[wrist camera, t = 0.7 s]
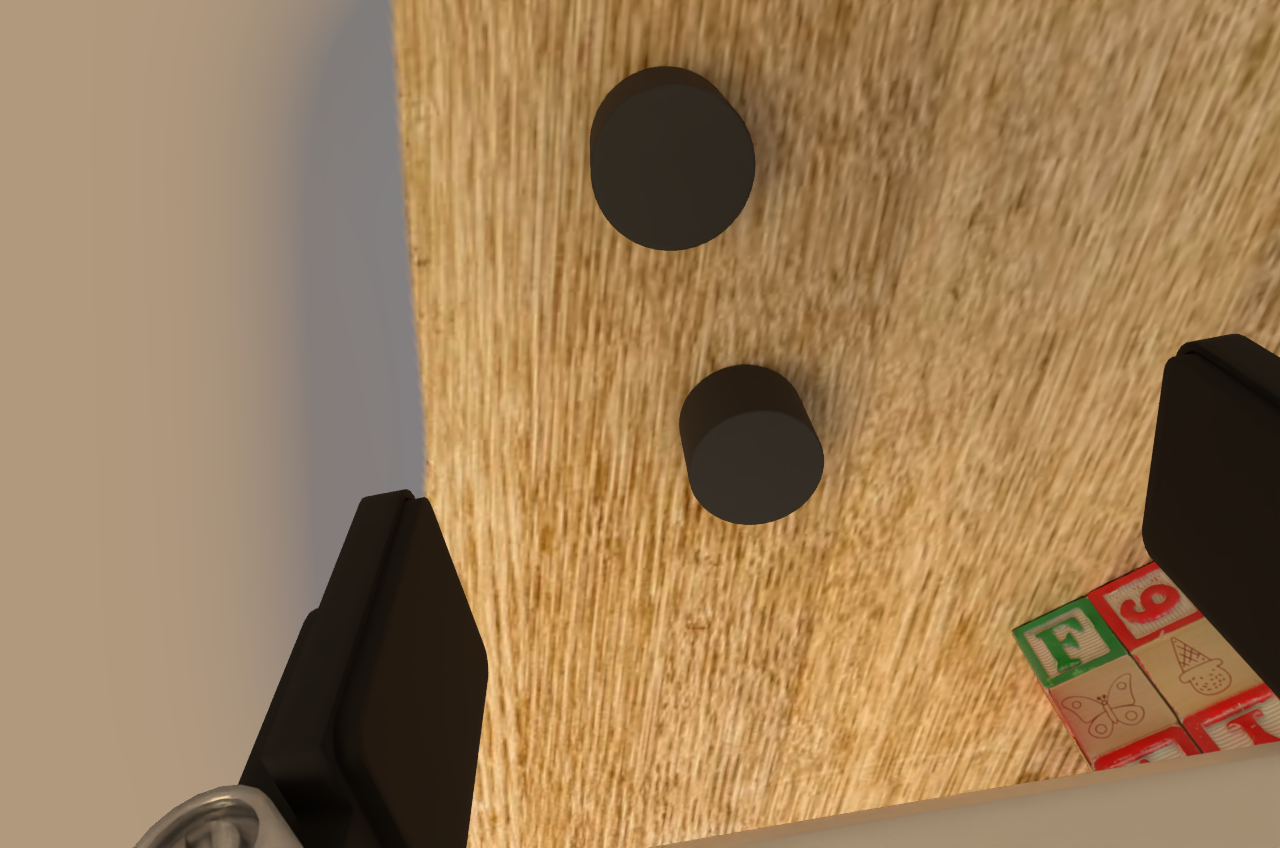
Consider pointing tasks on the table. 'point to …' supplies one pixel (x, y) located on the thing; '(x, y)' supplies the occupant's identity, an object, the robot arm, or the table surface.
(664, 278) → the table surface
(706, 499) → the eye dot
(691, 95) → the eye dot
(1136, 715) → the stack of blocks
